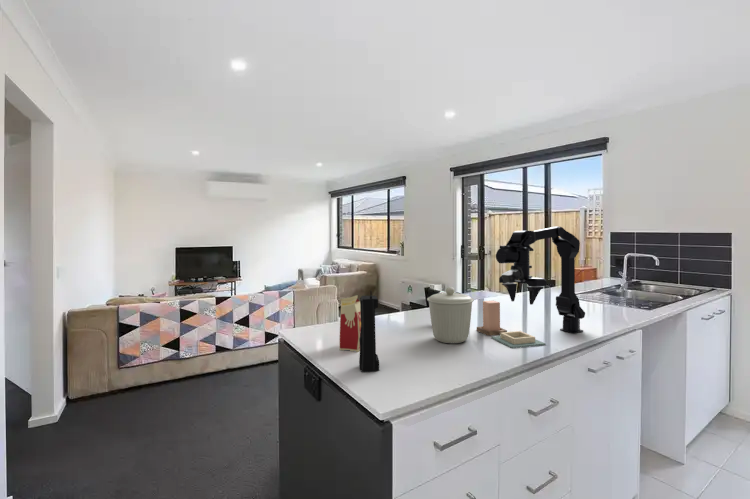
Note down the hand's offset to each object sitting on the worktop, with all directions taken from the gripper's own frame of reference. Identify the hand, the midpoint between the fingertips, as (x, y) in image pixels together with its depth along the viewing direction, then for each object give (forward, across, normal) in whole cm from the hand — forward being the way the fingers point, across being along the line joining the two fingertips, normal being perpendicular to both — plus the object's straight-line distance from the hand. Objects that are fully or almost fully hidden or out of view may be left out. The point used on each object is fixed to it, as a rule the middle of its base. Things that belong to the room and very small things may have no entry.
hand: (521, 302), depth 141 cm
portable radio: (+16, -1, -65) cm, 67 cm away
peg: (+14, -15, -2) cm, 20 cm away
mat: (+15, 0, -3) cm, 15 cm away
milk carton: (+16, -23, -62) cm, 68 cm away
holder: (+14, -15, -2) cm, 20 cm away
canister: (+15, -13, -24) cm, 31 cm away
